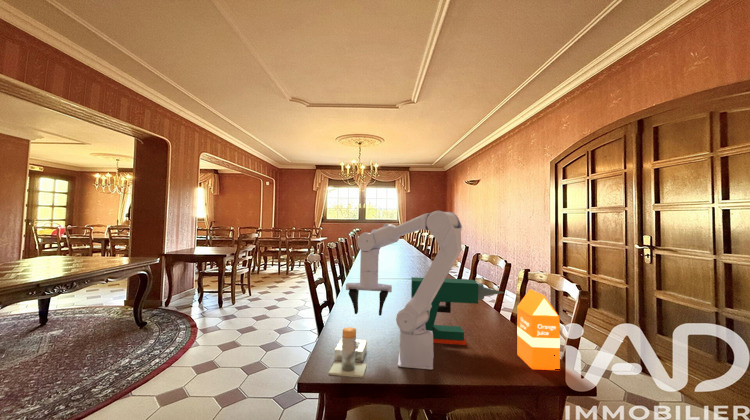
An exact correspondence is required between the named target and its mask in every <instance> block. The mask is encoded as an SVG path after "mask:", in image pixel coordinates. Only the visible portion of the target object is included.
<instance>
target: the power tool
mask: <svg viewBox="0 0 750 420" xmlns="http://www.w3.org/2000/svg"><path fill="white" fill-rule="evenodd" d="M423 279H424V277H418V276H417V277H416V276H415V277H413V276H411V288H410V289H411V292H410V293H411V294H410V297H411V299H412V298H413V297H414V295H415V293H416V292H417V290H418V288H419V286H420V284H421V282H422V281H423ZM505 293H506V292H504V291H501V290H500V291H499V290H496V289H493V288H489V287H485V286H484V284H483V283H479V282H477V281H476V280H474V279H465V278H464V279H462V278H445V280H444V282H443V284H442V285H441V287H440V289H439V291H438V292H437V294H436V296H435V298H434V299H433V301H432V303H431V305H432V307H431V309H430V312H429V319H428V321H427V322H426V323H425V327H426V330H429V331H432V332H433V344H447V345H448V344H449V345H463V346H467V340H466V339H465V331H464V330H463V328H462V326H460V325H459V326H458V325H457V326H456V325H445V324H444V325H441V324H435V322H436V320H437V319H436V318H437V314H438V313H444V314H445V313H446V314H448V313H449V314H450V313H451V311H452V308H451V307H452V306H451V305H452V303H453V304H454V303H457V304H458V303H459V304H475V305H476V304H479V300H481V301H483V300H484V299H485V297H487V296H488V297H489V296H494V295H499V294H505ZM440 303H445V305H440Z"/></svg>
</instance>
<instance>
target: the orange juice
mask: <svg viewBox="0 0 750 420" xmlns="http://www.w3.org/2000/svg"><path fill="white" fill-rule="evenodd" d="M516 309H517V311H516V312H517V313H516V314H517V317H516V318H517V322H516V323H517V324H516V327H517V328H516V330H517V331H516V333H517V334H516V335H517V341H516V342H517V350H516V352H517V354H516V355H517V356H518V357H519V358H520V359H521V360H522V361H523V362H524V363H525V364H526V365H527V366H528V367H529V368H531V370H543V371H544V370H547V371H556V370H555V369H560V370H561V362H560V361H561V338H560V329H561V327H560V323H561V322H560V315H558V313H557V311H556V310H555V308H554V307H553V306H552V304H551V303H550V301H549V300H548V298H547V297H546V295H544V294H542V293H540V292H538V291H535V290H534V289H530V288H529V289H528V291H527V292H526V293H525V295H524V297H523V298H522V299H521V300H520V302H519V304H518V305H517V308H516ZM554 355H555V356H554Z"/></svg>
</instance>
